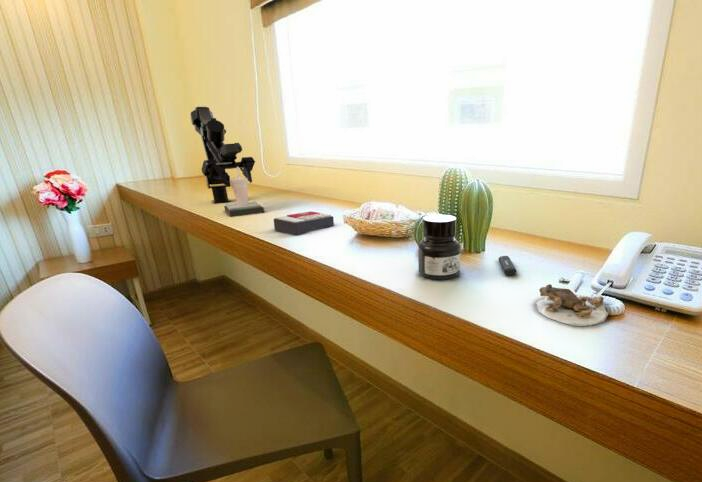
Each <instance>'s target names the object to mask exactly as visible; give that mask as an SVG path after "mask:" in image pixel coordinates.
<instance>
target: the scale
mask: <svg viewBox="0 0 702 482" xmlns="http://www.w3.org/2000/svg"><path fill="white" fill-rule="evenodd" d="M223 207H224V211H225V213H226V214H227V215H228V216H229V217H238V216H239V217H240V216H247V215H255V214H265V208H264V206H262V205H261V204H260V203H258V202H257V201H255V200H254V201H248V205H245V206H238V204H237V202H236V203H227V204H225V205H224V206H223Z"/></svg>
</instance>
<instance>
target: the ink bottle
mask: <svg viewBox="0 0 702 482" xmlns="http://www.w3.org/2000/svg"><path fill="white" fill-rule="evenodd" d="M422 232H423V233H422V234H423V238H422V240H420V241H419V243H418V245H417V246H418V247H417V249H418V250H417V254H418V255H417V256H418V257H417V258H418V260H417V262H418V273H419V275H420V276H421V277H423V278H426V279H429V280H437V281H438V280H440V281H441V280H449V279H453V278H456V277H458V276H459V275H460V274H461V259H462V258H461V257H462V245H461V243H460V242H459V240H457V238H456V236H457V217H456V216H454V215H450V214H431V215H426V216H424V217H423V218H422Z"/></svg>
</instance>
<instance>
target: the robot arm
mask: <svg viewBox="0 0 702 482" xmlns="http://www.w3.org/2000/svg"><path fill="white" fill-rule="evenodd" d="M190 122H191V125H192V126H193V127H194V130H195V132H197V134H199V135H200V138H201V141H202V145H203V149H204V153H205V156H206V159H204V160H203V162H202V166H201V173H202V175H203V176H204V177H205V182H206V187H207V188H208V189H211V192H212V193H211V194H212V197H213V199H212V201H211V202H213V203H214V204H218V203H219V204H220V203H229V202H231V199H229V196H228V190H227V188H230V187H232V185H231V182H230V179H231V176H230V175H229V173H228V172H227V171H226V170H233V169H237V167H238V168H239V171H241V173H242V175H243V176H244V178H248V181H247V182H249V183H250V184H251V183H253V178H252V171H253V168H254V165H255V163H256V160H255V158H254V157H253V156H246V157H245V156H244V157H243V156H242V157H241V159H240V161H236V160H237V159H238V156H237V155H238V154H239V153H241V152H242V151H243V148H242V145H241V144H240V143H239V142H234V143H225V142H224V141H225V135H226V133H227V129H225V124H224V123H223V122H222V121H220V120H217V117H214V113H213V112H212V111H211V110H210V107H208V106H196V107H194V110H192V111H190Z"/></svg>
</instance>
